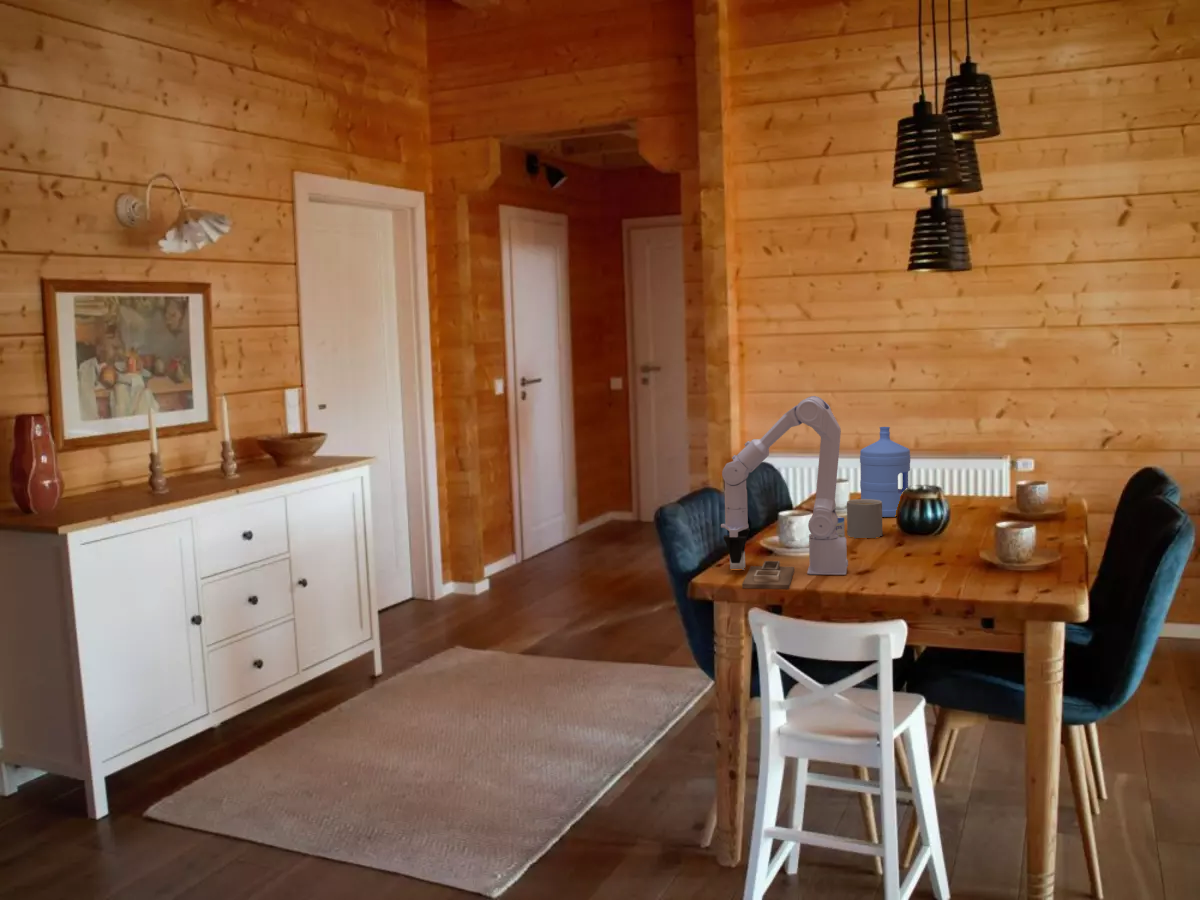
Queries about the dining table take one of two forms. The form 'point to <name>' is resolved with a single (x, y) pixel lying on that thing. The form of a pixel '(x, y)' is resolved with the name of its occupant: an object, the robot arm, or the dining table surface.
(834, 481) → the robot arm
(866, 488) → the water jug
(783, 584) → the socket board
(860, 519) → the coffee mug
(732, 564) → the square peg
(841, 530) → the medicine box
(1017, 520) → the dining table surface
